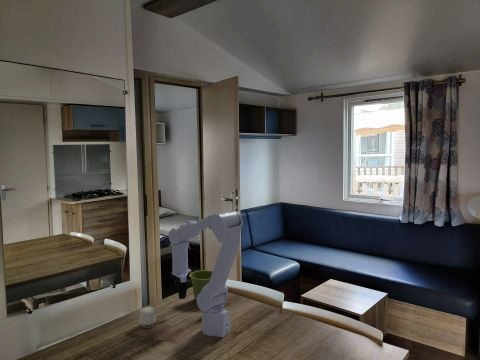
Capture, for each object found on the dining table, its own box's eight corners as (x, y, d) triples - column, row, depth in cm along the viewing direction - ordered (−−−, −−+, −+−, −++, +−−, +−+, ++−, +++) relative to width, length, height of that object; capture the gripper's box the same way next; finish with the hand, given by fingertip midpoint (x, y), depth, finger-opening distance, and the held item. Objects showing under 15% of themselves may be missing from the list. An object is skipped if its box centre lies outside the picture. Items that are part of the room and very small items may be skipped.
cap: (159, 321, 133) (158, 310, 133) (145, 326, 129) (145, 315, 129) (150, 316, 137) (150, 305, 137) (136, 321, 133) (136, 310, 133)
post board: (191, 332, 131) (191, 315, 130) (177, 346, 121) (176, 328, 121) (144, 323, 138) (143, 307, 137) (126, 335, 129) (126, 318, 128)
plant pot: (206, 308, 151) (206, 281, 150) (184, 302, 157) (183, 276, 156) (223, 298, 161) (222, 272, 160) (201, 293, 167) (200, 268, 166)
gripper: (194, 263, 134) (194, 300, 135) (187, 253, 148) (187, 286, 149) (174, 265, 132) (175, 303, 133) (169, 255, 146) (169, 289, 147)
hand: (180, 294), depth 141 cm, fingers open, 7 cm apart
